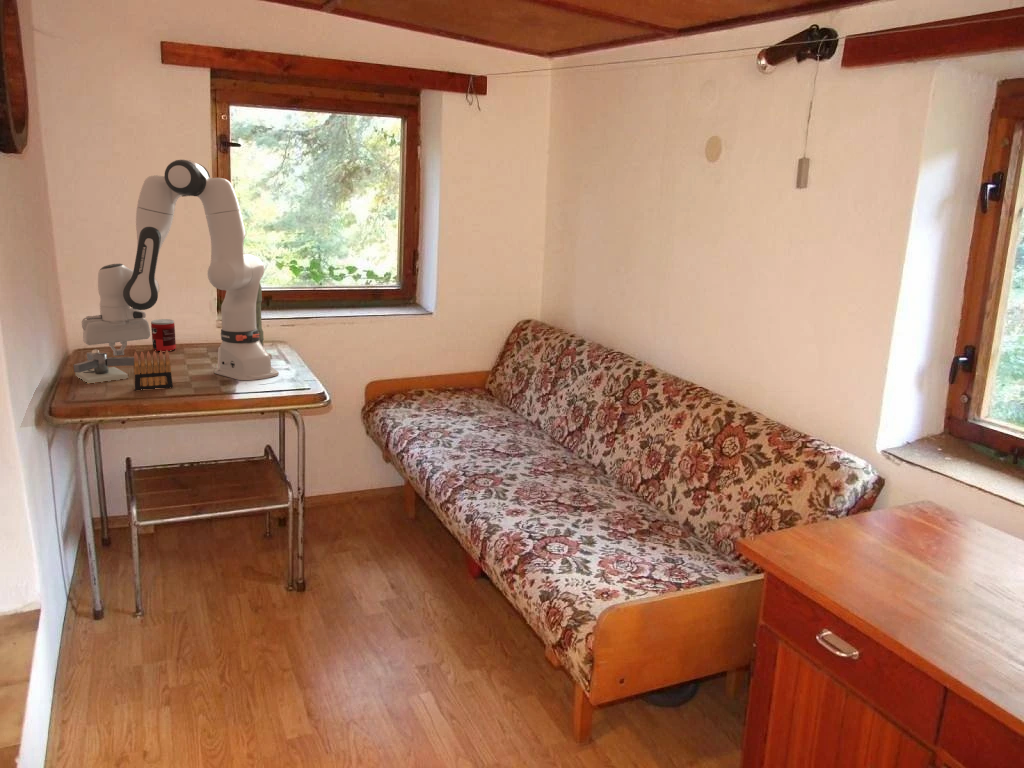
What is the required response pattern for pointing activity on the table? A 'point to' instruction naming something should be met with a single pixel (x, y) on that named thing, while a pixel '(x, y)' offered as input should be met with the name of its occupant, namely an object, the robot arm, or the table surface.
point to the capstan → (102, 362)
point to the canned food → (163, 334)
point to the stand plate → (102, 375)
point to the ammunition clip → (152, 371)
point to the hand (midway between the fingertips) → (118, 355)
